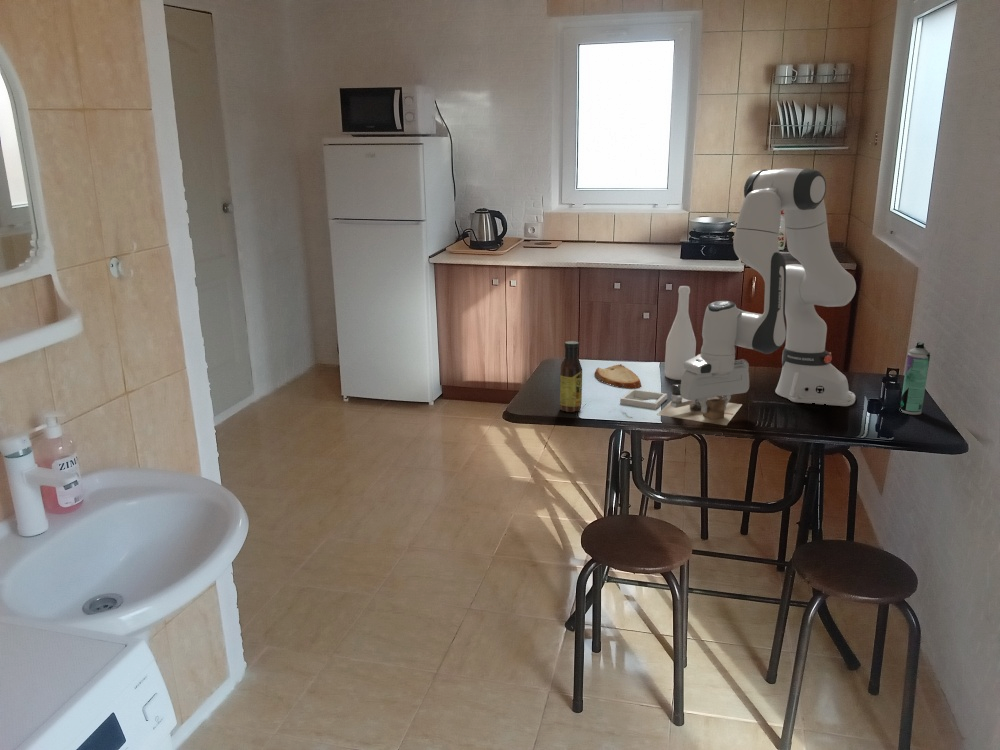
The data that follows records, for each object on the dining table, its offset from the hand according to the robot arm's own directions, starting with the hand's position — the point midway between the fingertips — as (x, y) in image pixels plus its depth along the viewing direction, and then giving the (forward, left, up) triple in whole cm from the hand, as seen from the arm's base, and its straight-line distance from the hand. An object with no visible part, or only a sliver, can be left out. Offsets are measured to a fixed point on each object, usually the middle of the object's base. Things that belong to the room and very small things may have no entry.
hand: (713, 411), depth 207 cm
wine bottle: (+21, -40, -3) cm, 45 cm away
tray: (+21, -5, -3) cm, 22 cm away
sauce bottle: (+39, +8, -3) cm, 40 cm away
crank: (+8, -2, -1) cm, 8 cm away
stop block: (0, 0, -2) cm, 2 cm away
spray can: (-47, -35, -3) cm, 59 cm away
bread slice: (+37, -28, -4) cm, 47 cm away
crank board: (+5, -5, -3) cm, 7 cm away
